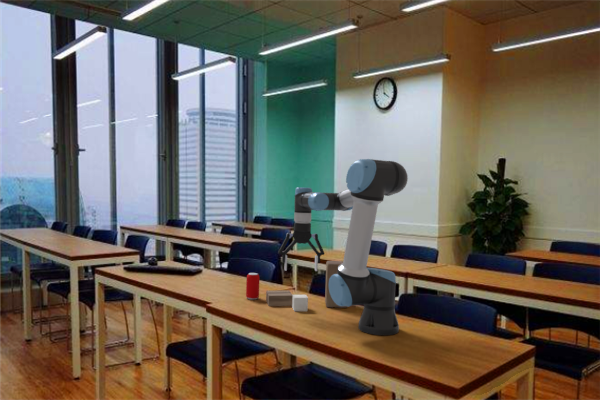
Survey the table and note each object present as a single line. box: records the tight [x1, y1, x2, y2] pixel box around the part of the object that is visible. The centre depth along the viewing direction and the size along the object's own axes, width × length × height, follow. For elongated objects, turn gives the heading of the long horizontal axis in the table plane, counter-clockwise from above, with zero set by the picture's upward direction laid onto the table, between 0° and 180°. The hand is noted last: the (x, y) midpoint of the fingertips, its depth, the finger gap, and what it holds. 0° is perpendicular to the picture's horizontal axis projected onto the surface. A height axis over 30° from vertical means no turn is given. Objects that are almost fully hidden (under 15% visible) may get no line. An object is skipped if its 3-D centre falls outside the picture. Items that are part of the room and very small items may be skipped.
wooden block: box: [324, 260, 348, 309], centre depth 211 cm, size 10×10×20 cm
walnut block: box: [265, 289, 294, 307], centre depth 212 cm, size 11×11×5 cm
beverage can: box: [245, 272, 260, 301], centre depth 220 cm, size 6×6×12 cm
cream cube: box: [291, 294, 309, 312], centre depth 202 cm, size 6×6×6 cm
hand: (300, 270), depth 202 cm, fingers open, 13 cm apart
